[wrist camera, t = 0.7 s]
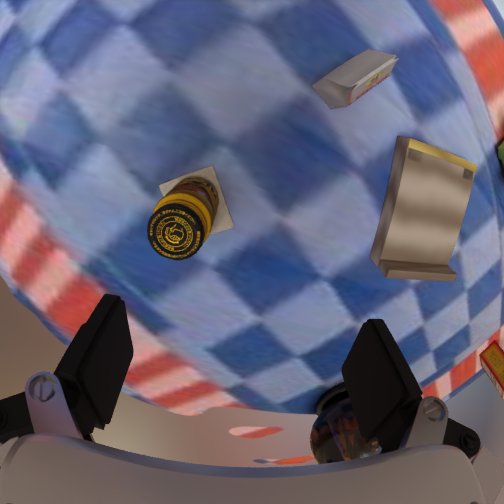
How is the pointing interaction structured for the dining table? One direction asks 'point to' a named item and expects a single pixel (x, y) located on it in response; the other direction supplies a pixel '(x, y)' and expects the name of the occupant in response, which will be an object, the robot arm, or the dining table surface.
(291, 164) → the dining table surface
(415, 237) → the dock
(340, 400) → the amphora vase
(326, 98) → the small white carton
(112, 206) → the dining table surface
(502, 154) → the kettle
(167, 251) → the condiment
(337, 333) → the dining table surface
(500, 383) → the baking soda box
